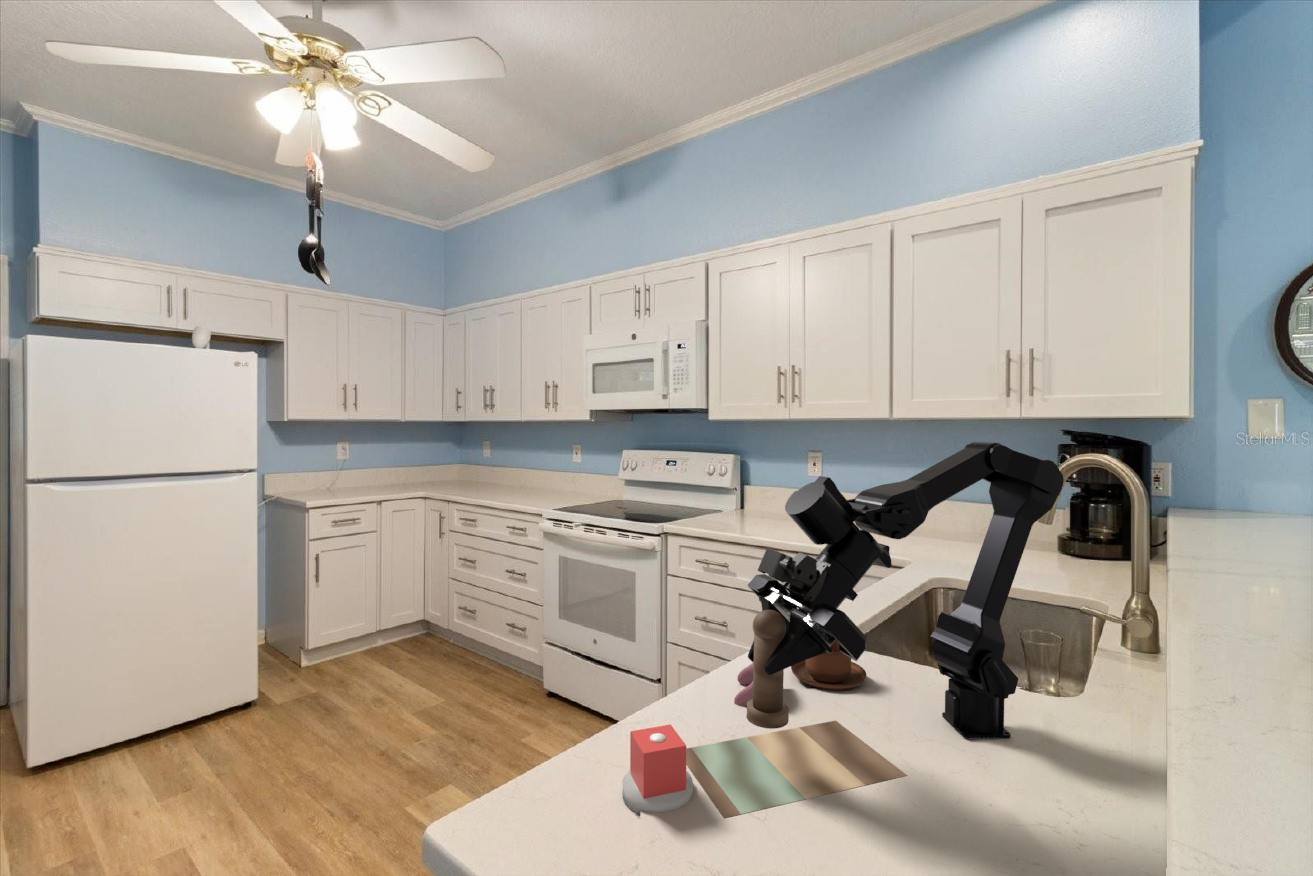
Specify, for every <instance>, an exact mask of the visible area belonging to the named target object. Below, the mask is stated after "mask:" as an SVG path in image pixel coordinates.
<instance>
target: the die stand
mask: <svg viewBox="0 0 1313 876" xmlns="http://www.w3.org/2000/svg"><path fill="white" fill-rule="evenodd" d="M629 733H630V736H629V738H630V739H629V740H630V743H629V744H630V745H629V747H630V751H629V753H630V756H629V757H630V758H629V759H630V760H629V763H630V765H629V766H630V767H629V770H628V771H627V772H626V773H625V774H624V776H623V779H622V800H623V803H624V805H626V807H627V808H628V809H629V810H631V811H632V812H634V813H635V814H637V815H641V811H645V812H649V813H666V812H671V811H676V810H678V809H680V808H682V807H683V806H684V805H686V804H687V803H688V802H689V801H690V800H691V798H692V796H693V790H694V789H693V788H694V783H693V778H692V776H691V774H690V773H689V772H688V771H687V765H686V748H687V745H686V743H685V741H684V740H683V739H682V738H681V736H680V735H679V734H678V733H677V730H675V728H674V727H673V725H672V724H666V725H659V726H654V727H648V728H642V729H635V730H631V731H630V732H629Z"/></svg>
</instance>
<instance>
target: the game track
mask: <svg viewBox="0 0 1313 876" xmlns="http://www.w3.org/2000/svg"><path fill="white" fill-rule="evenodd" d="M686 767H687V768H688V769H689V771H690V772H691V774H692V775H693V776H694V778H695V779H696V781H697V782H698V783H699V785H700V786H701V787H702V789H703V790H704V792H705V794H706V795H707V796H708V798H709V799H710V801H711V802H712V804H713V805H714V807H715V808H716V809H717V811H718V812H719V814H720V815H721V817H722V818H723V819H728V818H732V817H736V816H740V815H741V816H742V815H745V814H748V813H753V812H756V811H757V812H758V811H762V810H766V809H770V808H774V807H779V806H784V805H788V804H791V803H796V802H800V801H804V800H809V799H814V798H817V797H821V796H825V795H830V794H835V793H837V792H838V793H839V792H843V791H847V790H851V789H856V788H861V787H864V786H865V787H866V786H869V785H873V784H877V783H882V782H886V781H889V780H890V781H891V780H894V779H898V778H904V777H907V776H908V774H907V773H905V772H904V771H903V770H901V769H900V768H899V767H897V766H896V765H895V764H893V763H892V762H890V760H888V759H887V758H886V757H884V756H883V755H881V754H880V753H879V752H878V751H876V750H875V749H874V748H873V747H872V746H870V745H868V744H867V743H866V742H864V741H863V740H862V739H860V738H859V737H858V736H857V735H856V734H854V733H853V732H851V731H850V730H849V729H848V728H846V727H845V726H844V725H842V724H841V723H840V722H838V721H837V720H831V721H830V720H829V721H826V722H821V723H815V724H811V725H809V724H808V725H805V726H799V727H793V728H789V729H783V730H778V731H772V732H767V733H761V734H757V735H751V736H746V737H740V738H735V739H730V740H729V739H728V740H724V741H721V742H720V741H719V742H714V743H709V744H708V743H707V744H702V745H697V746H692V747H686Z"/></svg>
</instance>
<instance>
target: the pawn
mask: <svg viewBox="0 0 1313 876" xmlns="http://www.w3.org/2000/svg"><path fill="white" fill-rule="evenodd" d="M752 621H753V622H752V631H753V641H754V667H753V699H751V700H749V701H748V702H747V706H746V719H747V721H748V722H749V723H751V724H752V725H753V726H756V727H758V728H759V727H760V728H763V729H768V730H770V729H771V730H772V729H780V728H784V727H786V726H787V725H788V724H789V721H790V720H789V718H790V716H789V713H790V707H789V705H788V704H787V703H786V702H785V701H784V671H785V669H783V670H781V671H779V672H776V673H774V674H772V675H769V674H767V673H766V672H765V671H764V666H765V665H766V663H767V661H768V660H769V658H770V656H771V655H772V654H773V652H774V651H775V649H776V648H777V647H778V645H779V644H780V642H781V641H782V639H783V638H784V635H785V633H786V623H785V620H784V618H783V617H782V616H781V615H780V614H779V613H778V612H776V611H774V610H764V611H762V610H761V611H760V612H758V613H757V614H756V615H755V616H754V618H753V620H752Z"/></svg>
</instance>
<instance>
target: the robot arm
mask: <svg viewBox="0 0 1313 876" xmlns="http://www.w3.org/2000/svg"><path fill="white" fill-rule="evenodd" d="M981 480H983V481H986V482H988V483H990V484H989V489H988V494H989V498H990V502H991V505H992V509H993V512H992V516H991V519H990V522H989V525H988V527H987V531H986V534H985V536H984V540H983V542H982V545H981V548H980V550H979V553H978V557H977V559H976V562H975V564H974V568H973V570H972V573H971V576H970V578H969V582H968V585H967V588H966V590H965V593H964V596H963V598H962V602H961V604H960V605H959V606H958V607H957V608H956V609H955V610H953V611H952V612H951V613H949V612H946V611H943V610H942V611H941V612H940V614H939V615H938V617H937V622H936V626H935V628H934V631H933V632H932V633H931V635H930V639H932V641H931V647H930V648H931V649H930V651H931V653H932V654H933V657H934V660H935V661H936V663H937V664H936V665H937V667H938V670H939V674H940V675H942V676H945V677H947V678H948V687H947V689H945V692H944V711H943V712H942V715H941V716H942V718H944V720H945V721H946V722H947V723H948V724H950V726H951V727H952V728H953V729H954V730H955V731H956V732H957V733H958V734H959V735H961V737H963V738H965V739H1011V738H1012V734H1011V732H1009V730H1008V729H1006V728H1005V699H1009V696H1010V695H1014V694H1016V689H1017V688H1018V682H1019V678H1018V676H1017V675H1016V674H1015V673H1014V672H1013V670H1012V669H1011V668H1010V667H1009V666H1008V665H1007V664H1006V663H1005V661H1004V660H1003V659H1004V652H1005V648H1006V643H1005V638H1004V634H1003V630H1002V625H1001V618H1002V615H1003V611H1004V610H1005V606H1006V603H1007V600H1008V597H1009V594H1010V591H1011V589H1012V585H1013V583H1014V581H1015V577H1016V574H1017V571H1018V568H1019V565H1020V563H1021V560H1022V556H1023V555H1024V550H1025V548H1026V545H1027V542H1028V539H1029V536H1030V534H1031V531H1032V528H1033V526H1034V524H1035V523H1036V522H1037V521H1038V520H1040V519H1041V518H1042V517H1043V516H1044V515H1046V514H1047V513H1049V512H1050V511H1051V510H1052V509H1053V507H1054V505H1055V503H1056V502H1057V499H1058V497H1059V496H1060V494H1061V491H1062V489H1063V486H1064V482H1065V481H1064V475H1063V473H1062V471H1061V470H1060V468H1059V466H1058V465H1057V464H1056V463H1055V462H1054V461H1052V460H1050V459H1040V458H1037V457H1035V456H1031V455H1028V454H1025V453H1022V452H1019V451H1017V450H1013V449H1012V448H1010V447H1007V446H1006V445H1005V444H1004V445H1003V444H1001V443H999V442H988V441H987V442H986V441H985V442H983V441H973V442H970V443H968V444H966V445H965V446H964V447H963V449H960V450H959V451H956V452H955V453H954V454H952V455H950V456H948V457H946V458H944V459H943V460H940V461H939V462H936V463H935V464H934V465H932V466H929V467H928V468H926V469H924V470H922V471H920V472H919V473H917V474H915V475H913V476H911V477H910V478H909V477H908V479H904V480H901V481H896V482H891V483H885V484H884V483H883V484H881V485H878V486H874V487H869V488H868V489H864V490H861V492H859V493H858V494H857V495H856V496H855V497H854V498H850V499H847V498H846V497H845V496H844V495H843V494H842V492H840V490H839V489H838V487H837V484H836V483H835V481H834V480H832V478H831V477H830V476H829V477H827V476H822V475H819V476H818V477H817V478H816V480H815V481H814V482H810V483H807V484H805V485H803V486H802V487H801V488H799V489H798V490H796V491H793V492H792V494H790V496H789V497H788V498H787V500H786V502H785V505H784V511H785V512H786V514H787V515H788V516H789V517H790V518H791V519H792V521H793V522H794V523H795V524H796V525H797V526H798V527H799V528H800V530H801V531H802V532H803V533H804V534H805V535H806V536H807V538H809V540H810V541H811V542H812V543H814V544H815V545H820V546H822V545H825V547H824V548H823V549H822V550H821V551H820V553H819V554H818V555H817V556H816V557H811V555H808V554H805V553H802V552H798V553H797V554H796V555H795V556H794V557H792V556H790V555H788V554H785V553H783V552H781V551H778V550H775V549H773V548H770V547H766V549H765V551H764V554H763V557H762V559H761V561H760V563H759V566H758V568H757V572H759V573H762V574H755V576H754V577H753V578H752V579H751V580H750V581H749V582H748V584H747V587H748V588H749V589H750V590H751V591H752V592H753V594H755V595H756V596H757V597H758V601H759V602H760V603H761V611H764V610H774V611H776V612H778V613H779V614H780V615H781V616H782V617H783V618H784V620H785V623H786V633H785V635H784V638H783V639H782V641H781V642H780V644H779V645H778V647H777V648H776V649H775V651H774V652H773V654H772V655H771V656H770V658H769V660H768V661H767V663H766V665H765V666H764V671H765V672H766V673H767V674H769V675H772V674H774V673H776V672H779V671H781V670H783V669H784V670H785V669H789V668H791V666H792V665H795V664H797V663H799V662H802V661H804V660H807V659H810V658H812V657H815V656H818V655H821V654H824V653H829V654H831V653H832V652H833V650H832V649H831V648H830V646H831V645H832V643H833V642H834V641H835V640H836V641H837V642H838V643H839V650H840V651H841V652H842V653H843V654H845V655H846V656H848V657H850V658H851V660H853V661H856V662H857V661H858V660H859V659H860V658H861V656H862V655H863V654H864V652H865V651H866V650H867V640H868V639H867V635H865V634H864V633H863V631H862V630H861V629H860V628H859V627H858V626H857V625H856V623H854V621H853V620H852V619H851V618H850V617H849V616H848V615H847V614H846V613H845V612H844V611H843V610H840V609H839V607H840V606H841V605H842V604H843V602H844V601H845V600H846V599H848V600H849V601H852V602H854V600H855V599H856V598H857V597H858V595H859V594H858V593H857V592H856V590H854V588H855V587H856V586H857V585H858V583H860V581H861V580H862V579H863V577H864V576H865V574H867V572H868V571H869V570H870V569H871V567H872V566H873V565H874V564H875V565H879V566H881V567H885V568H887V569H889V568H891V567H892V566H893V565H892V558H891V557H892V556H891V554H890V549H891V547H890V546H889V545H886V544H884V543H879V542H878V540H877V539H875V537H874V536H873V535H872V534H874V535H877V536H882V537H885V538H889V539H893V540H902V539H905V538H906V537H908V536H909V535H911V534H912V533H913V532H914V531H916V530H917V529H918V528H919V527H920V526H921V525H923V523H925V521H926V519H927V516H928V514H929V512H930V511H931V510H932V509H933V508H934V507H936V506H938V505H940V504H941V503H943V502H945V501H947V500H948V499H950V498H951V497H953V496H955V495H957V494H959V493H960V492H962V491H964V490H966V489H967V488H970V487H971V486H973V485H974V484H976V483H978V482H980V481H981ZM767 574H768V575H767ZM747 659H748V660H750V661H751V662H752V663H753V662H754V640H753V641H752V643H751V646H750V649H749V651H748V654H747Z"/></svg>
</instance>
